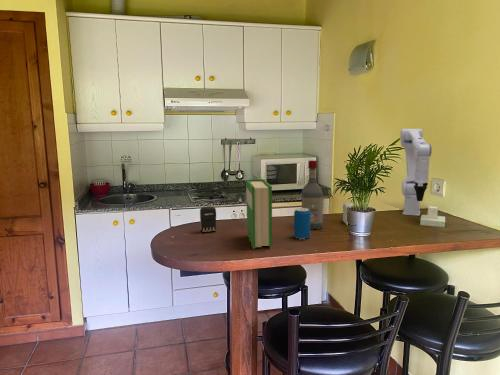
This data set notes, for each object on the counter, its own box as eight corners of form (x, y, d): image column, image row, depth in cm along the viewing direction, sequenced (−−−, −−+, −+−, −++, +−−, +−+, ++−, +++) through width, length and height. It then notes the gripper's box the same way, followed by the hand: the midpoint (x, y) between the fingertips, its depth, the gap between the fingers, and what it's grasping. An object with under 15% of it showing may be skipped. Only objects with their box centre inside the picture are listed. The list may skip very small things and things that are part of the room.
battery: (201, 233, 168) (200, 208, 166) (200, 231, 172) (199, 206, 170) (217, 232, 170) (216, 207, 168) (216, 230, 173) (215, 205, 171)
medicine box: (356, 225, 178) (356, 206, 176) (346, 225, 178) (346, 207, 176) (351, 221, 186) (352, 203, 184) (342, 221, 186) (342, 203, 184)
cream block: (427, 216, 181) (428, 206, 180) (436, 217, 180) (437, 206, 179) (427, 218, 178) (428, 207, 177) (437, 219, 176) (437, 208, 175)
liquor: (322, 230, 171) (323, 162, 166) (301, 229, 172) (302, 162, 167) (321, 224, 180) (322, 159, 175) (301, 224, 181) (301, 159, 176)
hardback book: (272, 248, 148) (271, 186, 144) (252, 249, 147) (251, 187, 143) (264, 235, 165) (263, 179, 161) (247, 236, 164) (246, 179, 160)
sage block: (421, 219, 186) (421, 214, 185) (444, 221, 181) (445, 216, 181) (420, 224, 177) (420, 219, 176) (444, 227, 172) (445, 221, 172)
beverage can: (310, 235, 163) (311, 207, 161) (308, 240, 157) (309, 211, 155) (295, 234, 165) (295, 207, 163) (292, 239, 159) (293, 210, 156)
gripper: (413, 168, 187) (411, 196, 189) (411, 171, 174) (409, 201, 176) (429, 169, 184) (427, 197, 186) (428, 172, 171) (426, 202, 173)
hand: (420, 199), depth 181 cm, fingers open, 7 cm apart
